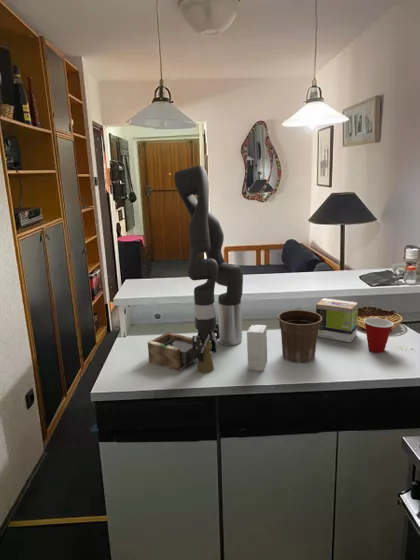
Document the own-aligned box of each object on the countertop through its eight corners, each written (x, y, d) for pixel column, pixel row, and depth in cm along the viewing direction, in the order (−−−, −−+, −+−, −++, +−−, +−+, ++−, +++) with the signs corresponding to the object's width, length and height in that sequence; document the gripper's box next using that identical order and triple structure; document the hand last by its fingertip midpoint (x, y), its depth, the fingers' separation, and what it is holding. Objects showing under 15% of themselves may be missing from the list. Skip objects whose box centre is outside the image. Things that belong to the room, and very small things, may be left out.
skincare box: (263, 371, 153) (263, 333, 149) (246, 369, 155) (246, 331, 151) (267, 361, 161) (267, 324, 157) (251, 359, 162) (251, 323, 158)
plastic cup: (395, 348, 167) (398, 320, 164) (384, 358, 160) (387, 328, 157) (368, 341, 175) (370, 314, 171) (357, 350, 167) (358, 321, 164)
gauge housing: (197, 358, 165) (196, 337, 163) (178, 370, 156) (176, 349, 154) (168, 350, 173) (167, 331, 171) (149, 362, 163) (147, 341, 161)
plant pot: (293, 343, 175) (294, 306, 171) (328, 355, 164) (330, 315, 160) (268, 356, 164) (269, 317, 160) (304, 370, 153) (306, 328, 149)
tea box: (356, 334, 182) (359, 301, 178) (350, 343, 174) (352, 309, 170) (322, 328, 190) (323, 296, 186) (314, 336, 182) (315, 303, 178)
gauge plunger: (199, 356, 162) (198, 338, 160) (183, 367, 154) (182, 348, 152) (178, 351, 167) (177, 333, 165) (161, 361, 159) (160, 342, 157)
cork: (212, 373, 153) (211, 345, 150) (195, 372, 154) (194, 344, 151) (215, 365, 159) (214, 338, 156) (199, 365, 160) (198, 337, 157)
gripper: (207, 306, 158) (208, 347, 162) (184, 319, 147) (187, 362, 151) (224, 309, 154) (226, 351, 159) (203, 323, 143) (205, 367, 147)
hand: (207, 356), depth 155 cm, fingers open, 8 cm apart
